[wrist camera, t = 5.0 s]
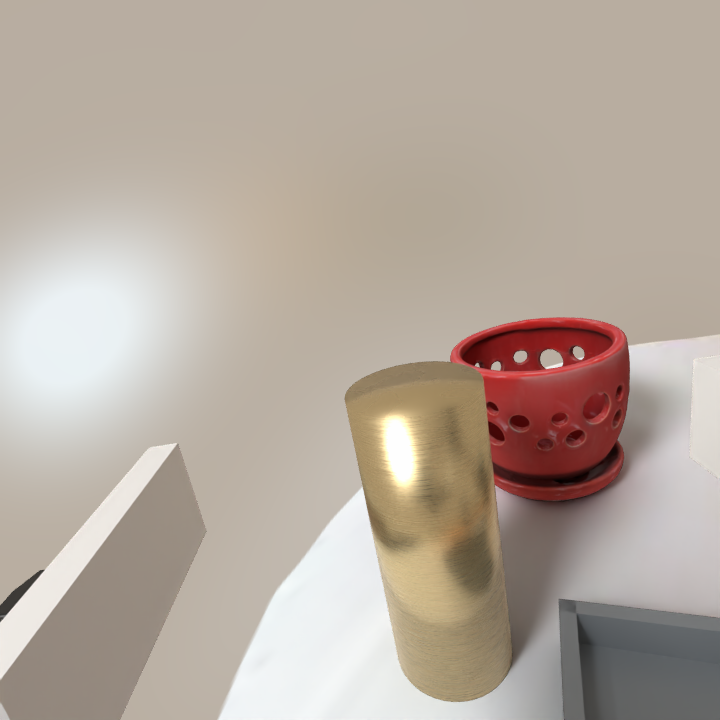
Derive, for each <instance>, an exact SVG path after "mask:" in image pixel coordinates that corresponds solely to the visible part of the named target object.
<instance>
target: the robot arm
mask: <svg viewBox="0 0 720 720" xmlns="http://www.w3.org/2000/svg"><path fill="white" fill-rule="evenodd" d="M689 457H690V458H691V459H693V460H694V461H695V462H697V463H698V464H699V465H700V466H702V467H703V468H704V469H706V470H707V471H708V472H710V473H711V474H712V475H714V476H715V477H716V478H718V479H719V480H720V355H716V356H709V357H703V358H697V359H694V360H693V383H692V406H691V429H690V452H689ZM205 533H206V528H205V525H204V522H203V519H202V516H201V513H200V510H199V507H198V503H197V500H196V497H195V494H194V491H193V488H192V485H191V482H190V479H189V476H188V472H187V470H186V466H185V463H184V460H183V457H182V454H181V451H180V448H179V445H178V443H175V444H168V445H162V446H156V447H150V448H149V449H148V450H147V451H146V452H145V453H144V454H143V456H142V457H141V458H140V459H139V460H138V461H137V463H136V464H135V465H134V466H133V467H132V468H131V470H130V471H129V472H128V473H127V475H126V476H125V477H124V478H123V479H122V480H121V481H120V483H119V484H118V485H117V486H116V487H115V488H114V490H113V491H112V492H111V493H110V494H109V495H108V497H107V498H106V499H105V500H104V501H103V503H102V504H101V505H100V506H99V507H98V508H97V510H96V511H95V512H94V513H93V514H92V515H91V517H90V518H89V519H88V520H87V521H86V522H85V524H84V525H83V526H82V527H81V528H80V529H79V531H78V532H77V533H76V534H75V535H74V537H73V538H72V539H71V540H70V541H69V542H68V544H67V545H66V546H65V547H64V548H63V550H62V551H61V552H60V553H59V554H58V555H57V557H56V558H55V559H54V560H53V561H52V562H51V564H50V565H49V566H48V567H47V568H46V569H45V570H40V571H39V572H37V573H36V574H35V575H33V576H32V577H31V578H30V579H28V580H27V581H26V582H25V583H24V584H22V585H21V586H19V587H18V588H17V589H15V590H14V591H13V592H12V593H11V594H10V595H9V596H8V597H7V599H6V600H5V601H4V602H3V603H2V604H1V605H0V720H120V719H121V717H122V714H123V712H124V710H125V708H126V705H127V703H128V701H129V699H130V697H131V695H132V692H133V690H134V688H135V686H136V684H137V682H138V679H139V677H140V675H141V673H142V671H143V669H144V666H145V664H146V662H147V660H148V658H149V655H150V653H151V651H152V649H153V647H154V645H155V642H156V640H157V638H158V636H159V633H160V631H161V629H162V627H163V625H164V623H165V620H166V618H167V616H168V614H169V612H170V610H171V607H172V605H173V603H174V601H175V599H176V597H177V594H178V592H179V590H180V588H181V585H182V583H183V581H184V579H185V577H186V575H187V573H188V570H189V568H190V565H191V564H192V562H193V560H194V557H195V555H196V553H197V551H198V548H199V546H200V544H201V542H202V540H203V538H204V536H205Z"/></svg>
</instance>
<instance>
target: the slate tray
mask: <svg viewBox="0 0 720 720" xmlns="http://www.w3.org/2000/svg"><path fill="white" fill-rule="evenodd" d="M559 619H560V642H561V665H562V688H563V711H564V720H720V618H716V617H707V616H699V615H691V614H682V613H674V612H666V611H657V610H649V609H641V608H632V607H624V606H615V605H607V604H599V603H590V602H582V601H574V600H565V599H559Z"/></svg>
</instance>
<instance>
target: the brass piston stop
mask: <svg viewBox="0 0 720 720" xmlns="http://www.w3.org/2000/svg"><path fill="white" fill-rule="evenodd" d="M345 403H346V408H347V412H348V417H349V422H350V427H351V432H352V437H353V441H354V446H355V451H356V455H357V461H358V466H359V471H360V475H361V480H362V485H363V490H364V495H365V500H366V504H367V509H368V514H369V519H370V524H371V529H372V534H373V538H374V543H375V548H376V553H377V558H378V563H379V567H380V572H381V577H382V582H383V587H384V592H385V596H386V601H387V606H388V611H389V616H390V621H391V625H392V630H393V635H394V640H395V645H396V650H397V655H398V659H399V663H400V666H401V669H402V670H403V672H404V674H405V676H406V677H407V678H408V680H409V681H410V682H411V683H412V684H413V685H414V686H415V687H416V688H418V689H419V690H420V691H422V692H423V693H425V694H427V695H429V696H431V697H433V698H436V699H440V700H443V701H450V702H463V701H470V700H474V699H477V698H480V697H482V696H484V695H486V694H488V693H490V692H491V691H492V690H494V689H495V688H496V687H497V686H498V685H499V684H500V683H501V682H502V681H503V679H504V678H505V677H506V675H507V673H508V671H509V669H510V665H511V662H512V642H511V632H510V623H509V614H508V604H507V595H506V586H505V576H504V567H503V558H502V548H501V539H500V530H499V520H498V511H497V502H496V492H495V483H494V474H493V464H492V455H491V446H490V436H489V427H488V418H487V408H486V399H485V390H484V380H483V376H482V375H481V373H479V372H478V371H477V370H476V369H474V368H472V367H469V366H467V365H463V364H459V363H452V362H438V361H433V362H417V363H410V364H404V365H399V366H394V367H390V368H387V369H384V370H381V371H378V372H375V373H373V374H370V375H368V376H366V377H364V378H362V379H360V380H359V381H357V382H356V383H355V384H353V385H352V386H351V387H350V388H349V389H348V391H347V392H346V394H345Z"/></svg>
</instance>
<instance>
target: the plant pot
mask: <svg viewBox="0 0 720 720" xmlns="http://www.w3.org/2000/svg"><path fill="white" fill-rule="evenodd" d="M575 346H579V347H581V348H582V349H583V350H584V353H585V356H584V358H583V359H582V360H579V359H577V358H576V357H575V356H574V354H573V348H574V347H575ZM547 349H553V350H555V351H557V352H559V353H560V354H561V356H562V358H563V366H562V367H558V368H551V369H545V368H544V367H543V366H542V364H541V362H540V356H541V353H542V352H543V351H545V350H547ZM517 351H526V352H527V359H526V360H525V361H524V362H522V363H517V362H515V361H514V358H513V356H514V354H515V352H517ZM450 361H451V362H452V363H459V364H463V365H467V366H469V367H472V368H474V369H476V370H477V371H478V372H479V373H481V375H482V376H483V380H484V390H485V399H486V408H487V418H488V427H489V436H490V446H491V455H492V464H493V474H494V483H495V485H496V486H498V487H499V488H501V489H503V490H505V491H507V492H509V493H512V494H514V495H517V496H521V497H524V498H528V499H535V500H546V501H558V500H561V501H562V500H568V499H574V498H578V497H582V496H586V495H589V494H592V493H594V492H596V491H598V490H600V489H602V488H604V487H605V486H607V485H608V484H609V483H611V482H612V481H613V480H614V479H615V478H616V476H617V475H618V474H619V472H620V470H621V468H622V465H623V461H624V452H623V449H622V446H621V445H620V443H619V442H618V440H617V439H618V436H619V434H620V432H621V429H622V426H623V423H624V420H625V416H626V411H627V403H628V396H629V380H630V361H629V350H628V343H627V338H626V336H625V334H624V332H623V331H622V330H620V329H619V328H617V327H615V326H613V325H611V324H608V323H605V322H601V321H597V320H592V319H584V318H540V319H530V320H523V321H518V322H512V323H507V324H503V325H499V326H496V327H493V328H489V329H487V330H484V331H481V332H479V333H476V334H474V335H471V336H470V337H467V338H466V339H464V340H463V341H461V342H460V343H459V344H458V345H456V346H455V347H454V349H453V350H452V353H451V356H450ZM496 361H499V362H500V363H501V370H500V371H496V370H491V365H492V364H493V363H494V362H496ZM476 363H479V366H480V368H479V367H476V366H475V364H476Z"/></svg>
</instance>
